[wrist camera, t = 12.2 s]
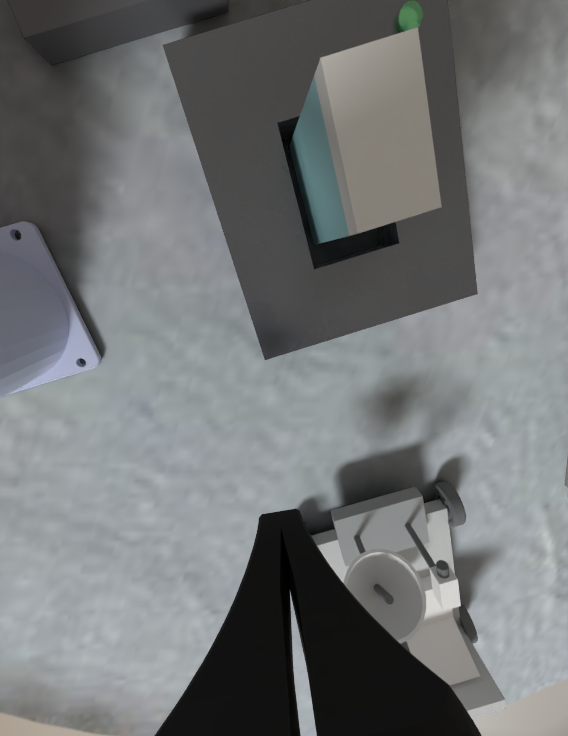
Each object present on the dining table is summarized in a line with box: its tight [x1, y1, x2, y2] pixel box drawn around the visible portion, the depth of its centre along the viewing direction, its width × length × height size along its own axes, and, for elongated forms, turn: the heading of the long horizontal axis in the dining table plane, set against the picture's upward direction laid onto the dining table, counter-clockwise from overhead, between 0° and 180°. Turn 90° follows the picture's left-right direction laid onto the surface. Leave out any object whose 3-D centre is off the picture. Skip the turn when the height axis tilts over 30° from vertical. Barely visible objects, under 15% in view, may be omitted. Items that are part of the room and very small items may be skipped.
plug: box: [289, 27, 442, 245], centre depth 14 cm, size 3×5×8 cm, turn 16°
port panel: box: [163, 0, 477, 360], centre depth 17 cm, size 12×14×3 cm
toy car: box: [304, 481, 506, 719], centre depth 22 cm, size 18×10×12 cm
